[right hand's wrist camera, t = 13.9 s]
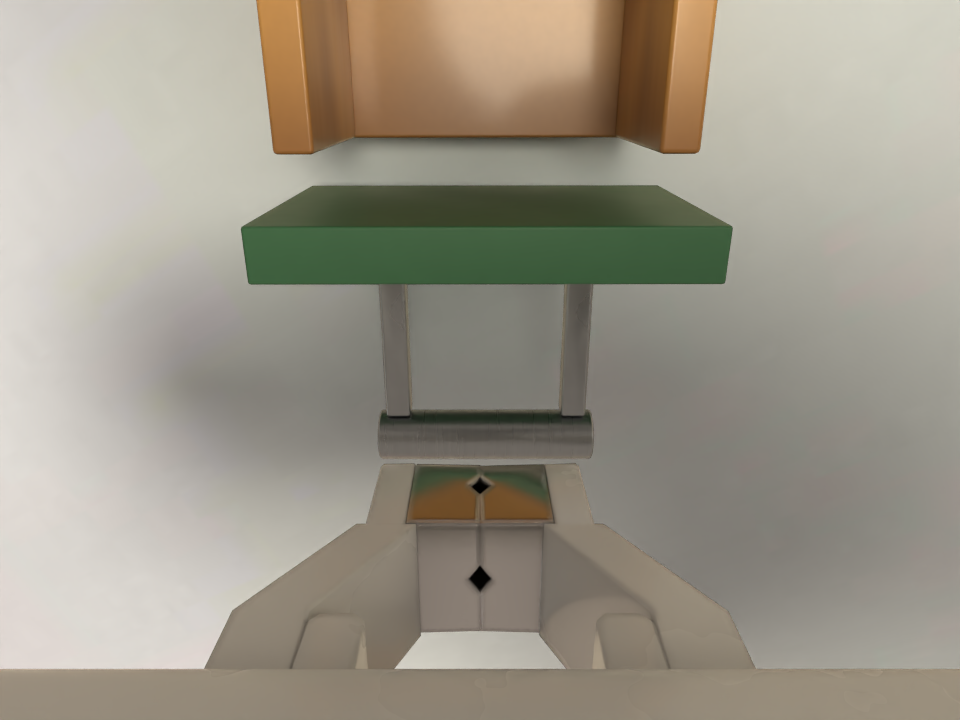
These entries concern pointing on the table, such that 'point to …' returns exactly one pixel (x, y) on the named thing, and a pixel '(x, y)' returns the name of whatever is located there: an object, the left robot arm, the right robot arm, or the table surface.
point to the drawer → (486, 209)
